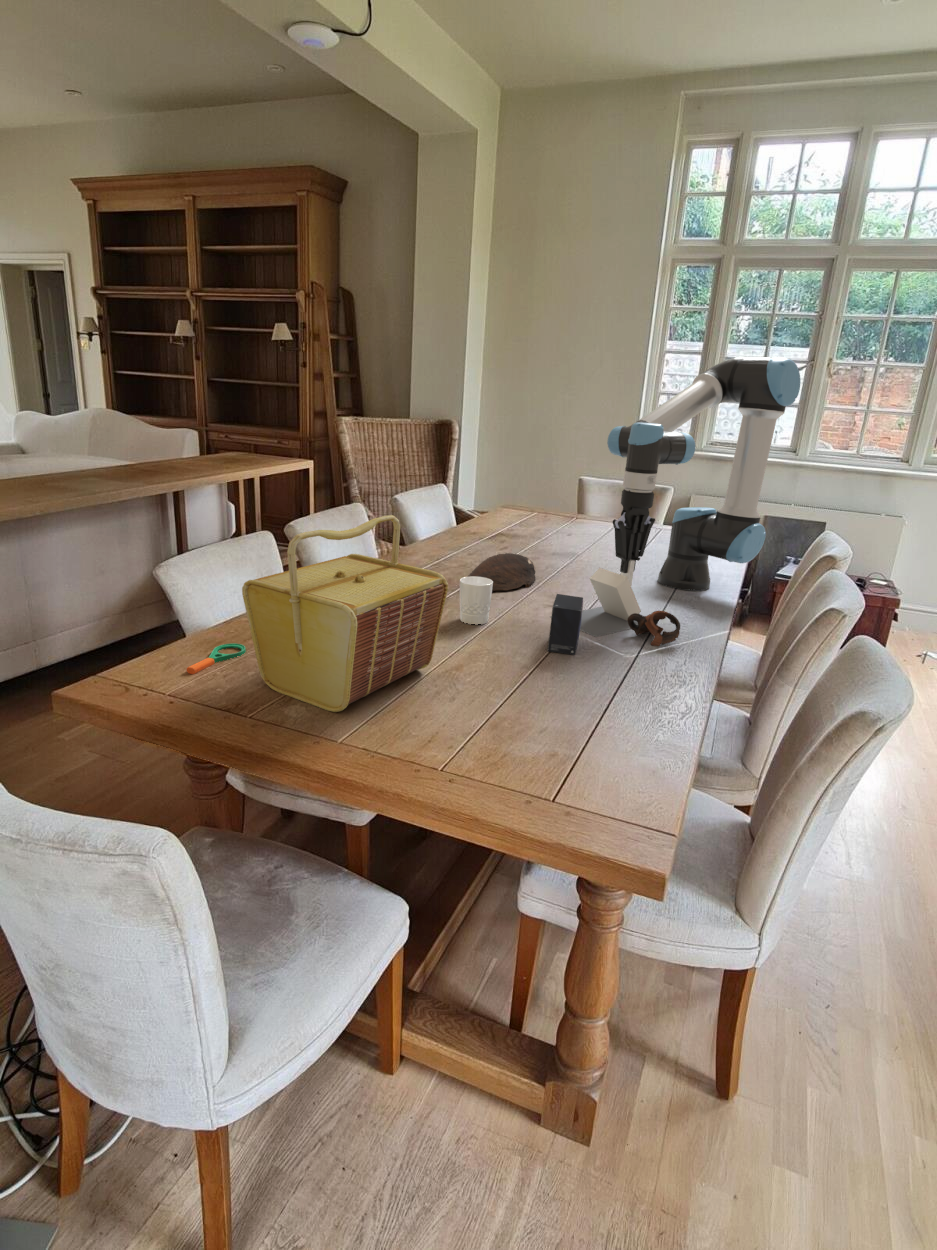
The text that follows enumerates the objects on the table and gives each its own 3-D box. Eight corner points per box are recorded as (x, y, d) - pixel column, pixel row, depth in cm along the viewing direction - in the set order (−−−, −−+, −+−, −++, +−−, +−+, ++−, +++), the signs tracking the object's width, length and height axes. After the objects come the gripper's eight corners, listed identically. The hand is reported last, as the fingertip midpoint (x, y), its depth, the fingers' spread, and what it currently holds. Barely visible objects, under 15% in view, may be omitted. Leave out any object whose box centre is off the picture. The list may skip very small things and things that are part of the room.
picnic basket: (349, 727, 117) (349, 549, 107) (240, 686, 129) (232, 523, 119) (447, 673, 140) (455, 523, 130) (348, 642, 153) (348, 503, 143)
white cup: (495, 619, 173) (498, 579, 170) (482, 628, 166) (484, 587, 163) (466, 613, 176) (468, 574, 173) (452, 622, 169) (454, 581, 166)
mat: (610, 606, 189) (610, 604, 189) (657, 624, 177) (658, 622, 177) (548, 618, 176) (549, 616, 176) (595, 638, 164) (595, 636, 164)
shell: (519, 606, 191) (517, 578, 188) (450, 604, 198) (447, 577, 195) (548, 567, 221) (546, 542, 218) (487, 566, 227) (484, 542, 224)
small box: (576, 656, 153) (582, 610, 150) (546, 652, 154) (551, 606, 151) (579, 639, 163) (584, 596, 159) (551, 636, 164) (555, 592, 161)
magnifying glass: (227, 646, 148) (226, 639, 147) (252, 651, 146) (251, 643, 146) (177, 673, 134) (176, 664, 134) (204, 678, 132) (203, 670, 132)
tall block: (614, 601, 184) (599, 567, 176) (641, 611, 177) (627, 576, 170) (604, 611, 183) (589, 578, 175) (631, 622, 176) (616, 587, 169)
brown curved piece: (671, 637, 170) (685, 614, 164) (666, 665, 164) (681, 643, 158) (623, 619, 171) (636, 596, 165) (617, 647, 164) (630, 624, 158)
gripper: (631, 493, 163) (618, 592, 171) (668, 491, 170) (654, 585, 178) (607, 488, 169) (596, 584, 176) (644, 486, 176) (631, 578, 184)
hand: (625, 584), depth 177 cm, fingers closed
